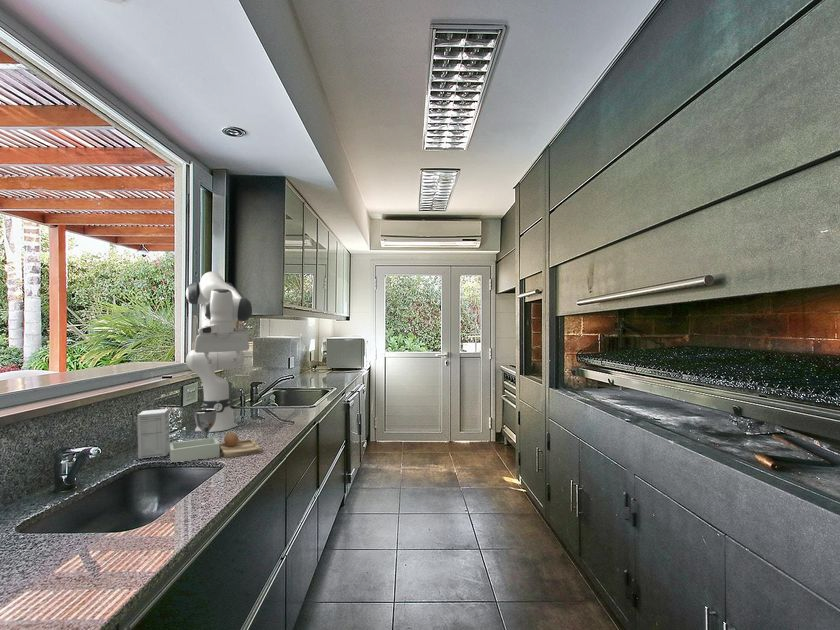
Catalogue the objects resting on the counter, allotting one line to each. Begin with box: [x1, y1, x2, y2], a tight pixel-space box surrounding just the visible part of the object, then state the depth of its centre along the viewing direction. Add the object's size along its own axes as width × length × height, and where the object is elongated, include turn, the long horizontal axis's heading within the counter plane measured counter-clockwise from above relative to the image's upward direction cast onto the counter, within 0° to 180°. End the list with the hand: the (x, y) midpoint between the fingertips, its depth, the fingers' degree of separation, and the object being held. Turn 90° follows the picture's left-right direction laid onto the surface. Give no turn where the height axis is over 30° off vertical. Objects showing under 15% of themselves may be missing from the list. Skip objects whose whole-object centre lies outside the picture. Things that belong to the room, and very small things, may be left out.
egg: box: [223, 432, 239, 446], centre depth 185 cm, size 5×5×8 cm
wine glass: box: [194, 409, 216, 439], centre depth 185 cm, size 8×8×15 cm
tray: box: [219, 438, 262, 459], centre depth 181 cm, size 18×13×2 cm
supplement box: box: [136, 408, 171, 458], centre depth 176 cm, size 10×9×17 cm
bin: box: [169, 436, 221, 464], centre depth 173 cm, size 12×16×5 cm
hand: (222, 363), depth 186 cm, fingers open, 8 cm apart
